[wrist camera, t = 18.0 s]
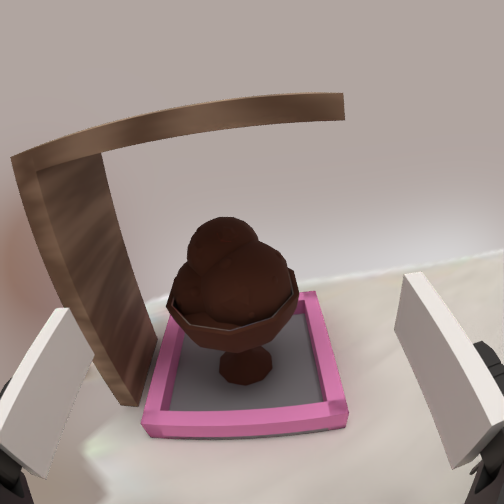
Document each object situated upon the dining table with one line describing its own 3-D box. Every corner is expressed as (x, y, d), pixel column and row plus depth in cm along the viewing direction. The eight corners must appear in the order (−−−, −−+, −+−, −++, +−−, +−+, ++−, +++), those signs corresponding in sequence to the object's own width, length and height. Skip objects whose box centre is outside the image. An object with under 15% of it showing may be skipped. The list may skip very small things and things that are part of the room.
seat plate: (315, 307, 38) (315, 290, 37) (345, 427, 23) (348, 412, 22) (178, 319, 39) (173, 303, 37) (150, 437, 24) (140, 423, 22)
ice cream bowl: (171, 378, 29) (121, 246, 22) (236, 317, 37) (215, 195, 30) (258, 427, 24) (231, 283, 17) (318, 346, 31) (319, 208, 24)
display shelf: (314, 321, 36) (306, 92, 24) (332, 397, 26) (343, 93, 14) (144, 333, 37) (82, 130, 25) (120, 405, 27) (10, 157, 15)
